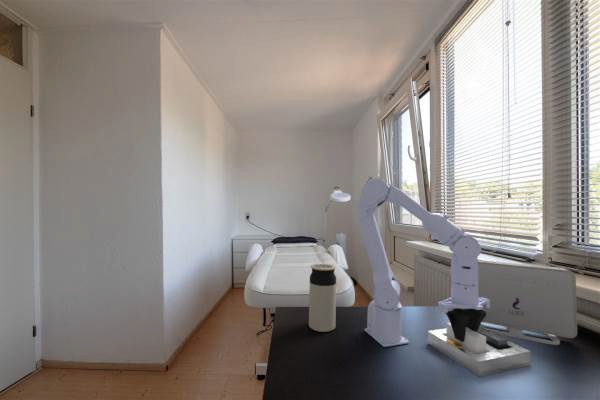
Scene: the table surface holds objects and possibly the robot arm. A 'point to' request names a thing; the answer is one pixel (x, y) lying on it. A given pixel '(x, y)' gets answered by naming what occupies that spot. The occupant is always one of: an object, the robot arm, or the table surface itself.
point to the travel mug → (322, 298)
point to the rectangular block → (469, 340)
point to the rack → (495, 359)
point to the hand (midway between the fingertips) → (464, 338)
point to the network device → (529, 299)
